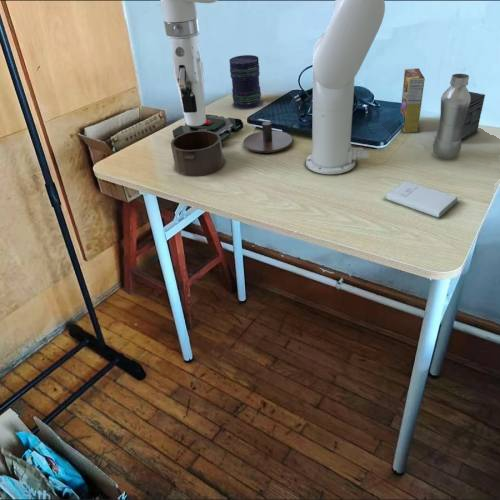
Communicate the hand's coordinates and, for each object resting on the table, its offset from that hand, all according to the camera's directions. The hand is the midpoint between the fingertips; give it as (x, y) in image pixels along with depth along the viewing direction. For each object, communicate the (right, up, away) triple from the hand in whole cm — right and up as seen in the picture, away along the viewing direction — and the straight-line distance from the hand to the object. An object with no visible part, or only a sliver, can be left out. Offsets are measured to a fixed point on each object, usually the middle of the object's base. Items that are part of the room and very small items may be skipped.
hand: (193, 106), depth 113 cm
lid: (+19, -5, +17) cm, 26 cm away
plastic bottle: (+64, -12, +4) cm, 65 cm away
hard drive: (+52, -25, -12) cm, 59 cm away
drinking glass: (0, -4, +3) cm, 5 cm away
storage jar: (+13, +15, +46) cm, 50 cm away
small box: (+71, -4, +13) cm, 73 cm away
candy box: (+60, 0, +20) cm, 63 cm away
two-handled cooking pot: (0, -13, +10) cm, 16 cm away
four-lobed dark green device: (+2, -1, +26) cm, 26 cm away
